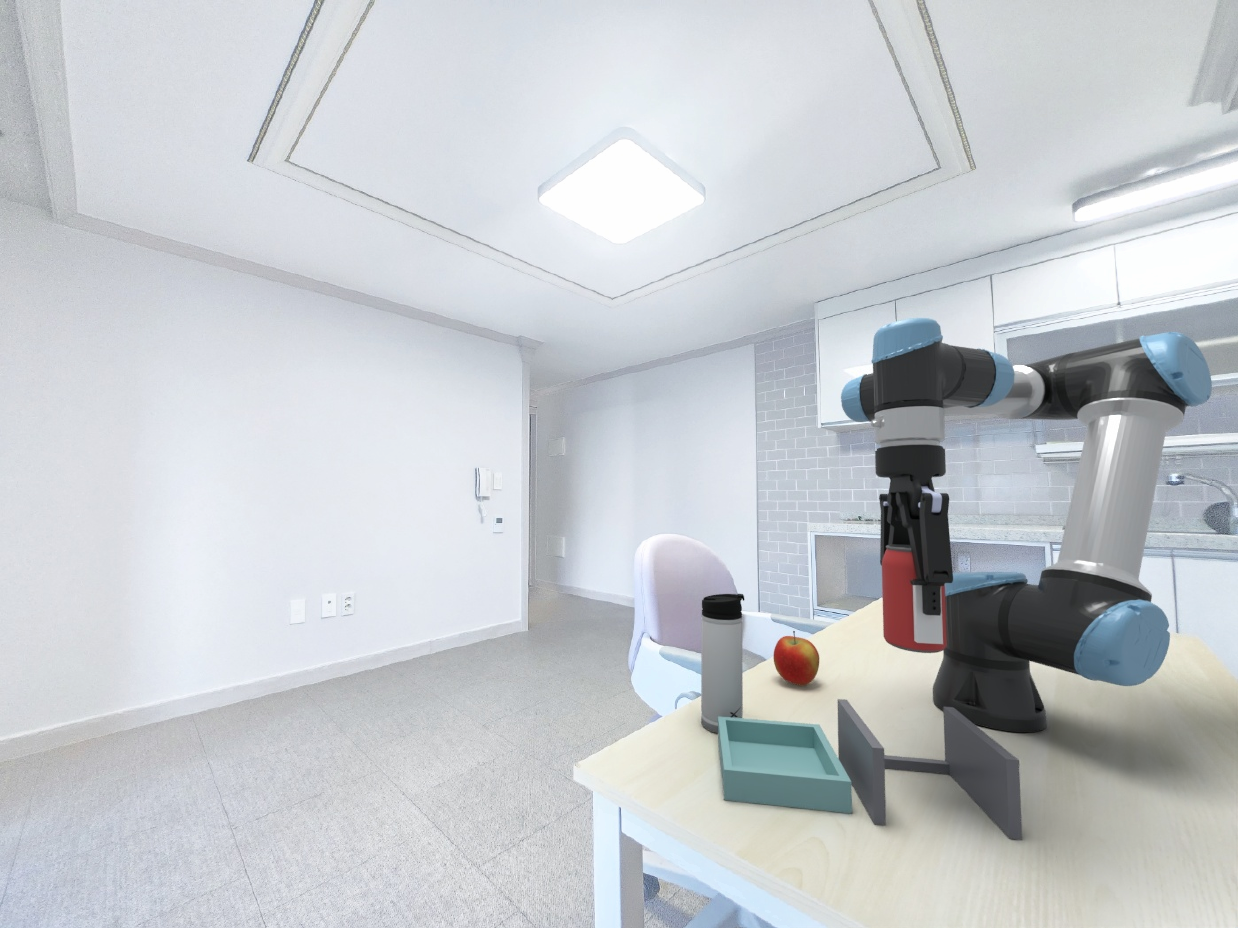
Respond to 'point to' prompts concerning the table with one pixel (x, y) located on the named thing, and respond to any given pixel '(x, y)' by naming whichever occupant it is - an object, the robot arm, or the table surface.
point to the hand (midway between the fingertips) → (914, 633)
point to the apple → (796, 660)
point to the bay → (935, 767)
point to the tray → (781, 765)
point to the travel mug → (721, 659)
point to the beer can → (903, 601)
